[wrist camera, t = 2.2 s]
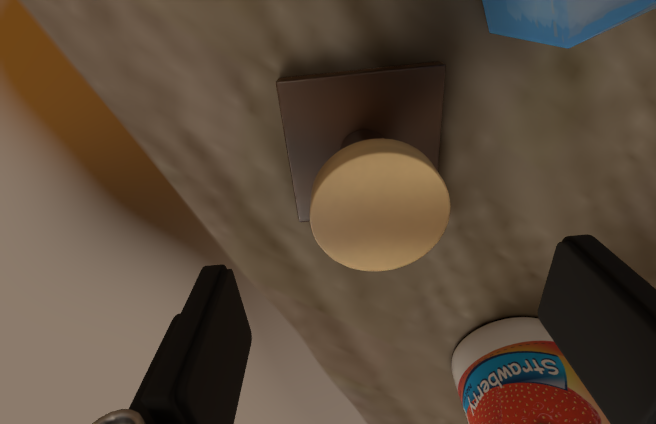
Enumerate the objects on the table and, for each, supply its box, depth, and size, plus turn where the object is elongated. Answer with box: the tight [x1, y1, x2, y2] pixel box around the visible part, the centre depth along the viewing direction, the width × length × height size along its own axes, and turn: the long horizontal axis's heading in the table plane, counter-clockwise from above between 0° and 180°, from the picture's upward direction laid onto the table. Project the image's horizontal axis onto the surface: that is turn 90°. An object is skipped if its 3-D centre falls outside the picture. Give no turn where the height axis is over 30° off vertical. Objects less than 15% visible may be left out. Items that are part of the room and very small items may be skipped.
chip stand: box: [276, 61, 446, 222], centre depth 17 cm, size 8×8×6 cm
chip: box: [310, 138, 451, 271], centre depth 13 cm, size 5×5×1 cm
